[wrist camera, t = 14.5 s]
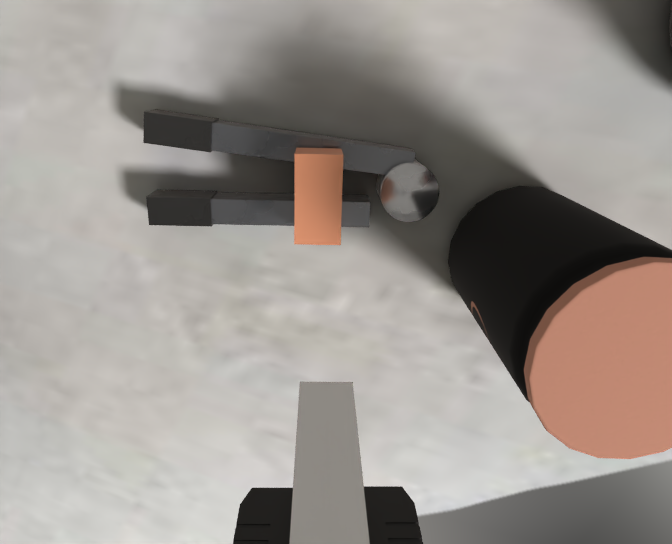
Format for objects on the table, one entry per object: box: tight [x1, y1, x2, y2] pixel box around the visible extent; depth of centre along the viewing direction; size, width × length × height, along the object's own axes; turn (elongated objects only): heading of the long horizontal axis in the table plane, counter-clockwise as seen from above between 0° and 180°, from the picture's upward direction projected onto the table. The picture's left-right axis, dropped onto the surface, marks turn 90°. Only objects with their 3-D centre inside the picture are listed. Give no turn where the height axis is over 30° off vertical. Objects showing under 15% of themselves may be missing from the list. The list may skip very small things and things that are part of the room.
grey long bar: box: [144, 109, 439, 222], centre depth 37 cm, size 20×5×3 cm, turn 82°
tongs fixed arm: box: [147, 190, 370, 227], centre depth 39 cm, size 16×2×3 cm, turn 88°
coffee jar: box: [448, 186, 672, 459], centre depth 33 cm, size 11×11×18 cm
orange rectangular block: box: [294, 148, 343, 245], centre depth 35 cm, size 3×6×3 cm, turn 178°
